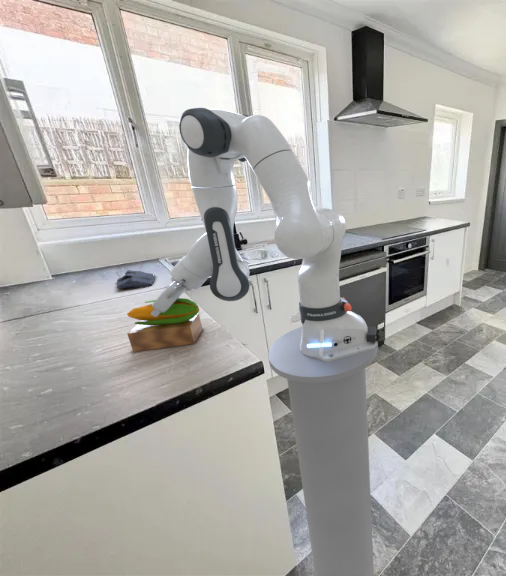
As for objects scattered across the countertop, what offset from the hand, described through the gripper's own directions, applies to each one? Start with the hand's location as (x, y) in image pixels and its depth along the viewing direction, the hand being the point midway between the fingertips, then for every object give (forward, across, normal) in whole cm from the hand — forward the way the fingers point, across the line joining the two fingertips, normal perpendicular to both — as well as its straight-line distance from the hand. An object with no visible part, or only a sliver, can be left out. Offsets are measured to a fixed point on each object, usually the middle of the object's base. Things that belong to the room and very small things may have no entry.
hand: (159, 309), depth 93 cm
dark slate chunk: (+33, +72, +18) cm, 81 cm away
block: (+7, 0, -8) cm, 10 cm away
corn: (+3, 0, -4) cm, 5 cm away
